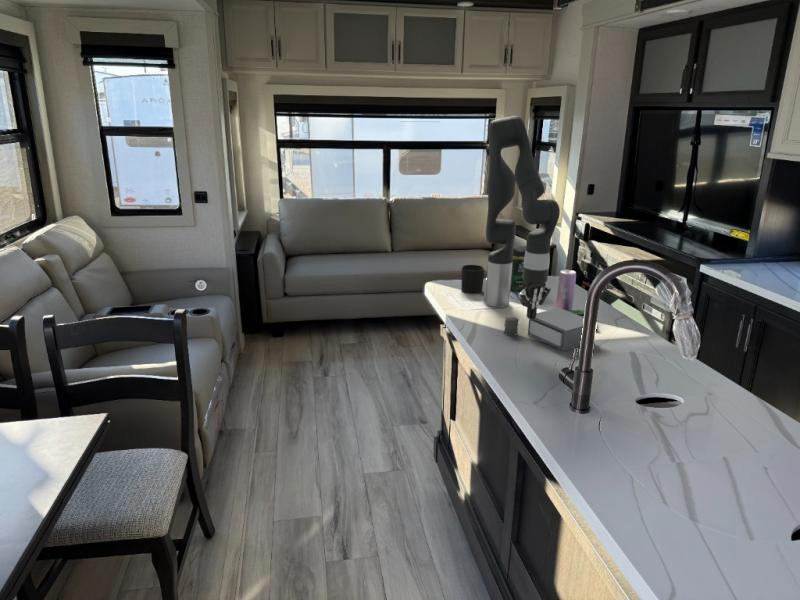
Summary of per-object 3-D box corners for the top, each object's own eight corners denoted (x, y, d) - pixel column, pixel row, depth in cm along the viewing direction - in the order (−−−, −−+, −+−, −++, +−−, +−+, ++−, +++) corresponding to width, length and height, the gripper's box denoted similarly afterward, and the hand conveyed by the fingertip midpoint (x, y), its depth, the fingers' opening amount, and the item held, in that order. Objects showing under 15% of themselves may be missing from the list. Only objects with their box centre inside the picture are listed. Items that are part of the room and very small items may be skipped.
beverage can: (573, 308, 214) (578, 271, 209) (569, 313, 209) (573, 274, 204) (558, 305, 217) (562, 268, 212) (553, 310, 212) (557, 272, 207)
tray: (529, 332, 187) (530, 320, 186) (556, 325, 194) (558, 313, 193) (559, 346, 177) (560, 333, 175) (587, 338, 183) (588, 326, 182)
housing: (527, 334, 189) (529, 315, 187) (556, 326, 196) (558, 307, 194) (563, 351, 176) (566, 330, 174) (593, 342, 184) (596, 322, 181)
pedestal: (501, 331, 191) (502, 318, 189) (511, 329, 193) (512, 315, 192) (510, 336, 188) (511, 322, 186) (520, 333, 190) (521, 319, 188)
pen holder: (487, 290, 234) (489, 267, 231) (474, 295, 228) (475, 272, 224) (469, 286, 240) (470, 263, 237) (455, 290, 234) (457, 267, 230)
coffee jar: (511, 292, 233) (514, 248, 227) (504, 286, 240) (507, 244, 234) (533, 291, 234) (537, 248, 228) (526, 285, 242) (529, 243, 236)
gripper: (529, 272, 164) (524, 326, 169) (560, 265, 170) (554, 318, 176) (511, 265, 169) (507, 318, 175) (542, 259, 176) (537, 310, 182)
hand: (531, 318), depth 176 cm, fingers closed
